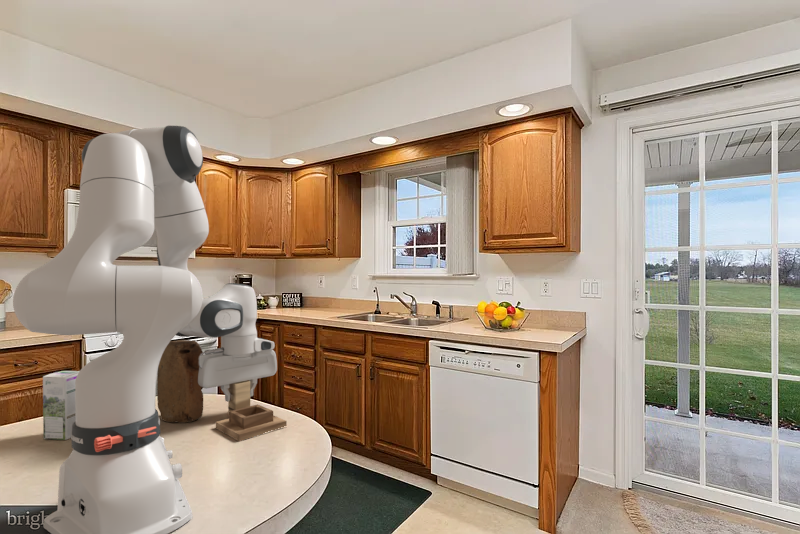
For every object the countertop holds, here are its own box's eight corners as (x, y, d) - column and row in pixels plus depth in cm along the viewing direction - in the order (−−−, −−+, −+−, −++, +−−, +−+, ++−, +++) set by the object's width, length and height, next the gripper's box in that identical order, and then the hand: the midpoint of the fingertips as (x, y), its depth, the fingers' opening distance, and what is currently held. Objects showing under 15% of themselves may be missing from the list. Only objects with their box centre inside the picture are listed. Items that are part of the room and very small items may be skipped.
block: (154, 420, 112) (154, 341, 112) (179, 411, 118) (179, 337, 118) (184, 426, 107) (184, 344, 107) (209, 417, 114) (209, 340, 114)
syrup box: (86, 431, 104) (86, 370, 104) (64, 441, 98) (64, 376, 98) (64, 430, 105) (64, 369, 105) (41, 440, 99) (41, 375, 99)
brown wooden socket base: (286, 427, 106) (286, 410, 106) (239, 441, 98) (239, 423, 98) (261, 415, 115) (261, 400, 115) (215, 428, 106) (215, 411, 106)
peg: (250, 416, 115) (250, 381, 115) (235, 420, 112) (235, 384, 112) (243, 412, 117) (243, 378, 117) (228, 416, 114) (228, 381, 114)
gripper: (204, 352, 105) (204, 410, 105) (279, 342, 120) (280, 392, 120) (193, 349, 109) (193, 405, 109) (267, 339, 124) (268, 388, 124)
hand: (239, 398), depth 115 cm, fingers closed on peg, 4 cm apart
